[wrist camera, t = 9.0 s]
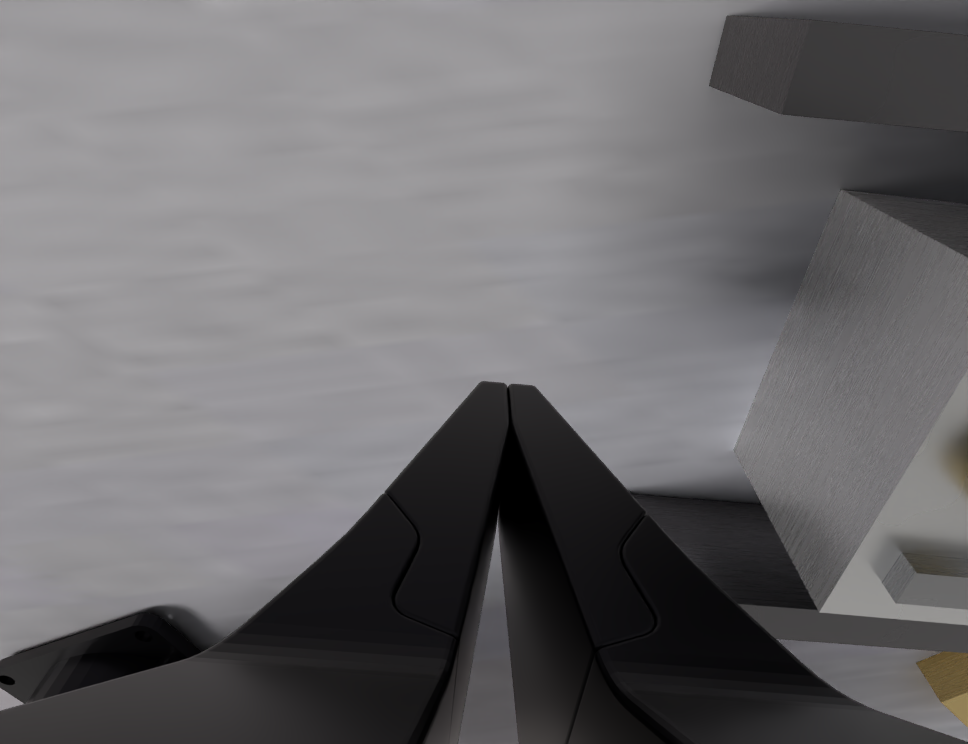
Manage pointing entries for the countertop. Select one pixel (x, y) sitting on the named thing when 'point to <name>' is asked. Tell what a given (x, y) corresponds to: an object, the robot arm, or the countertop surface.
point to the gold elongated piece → (949, 680)
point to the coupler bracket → (842, 96)
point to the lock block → (873, 414)
